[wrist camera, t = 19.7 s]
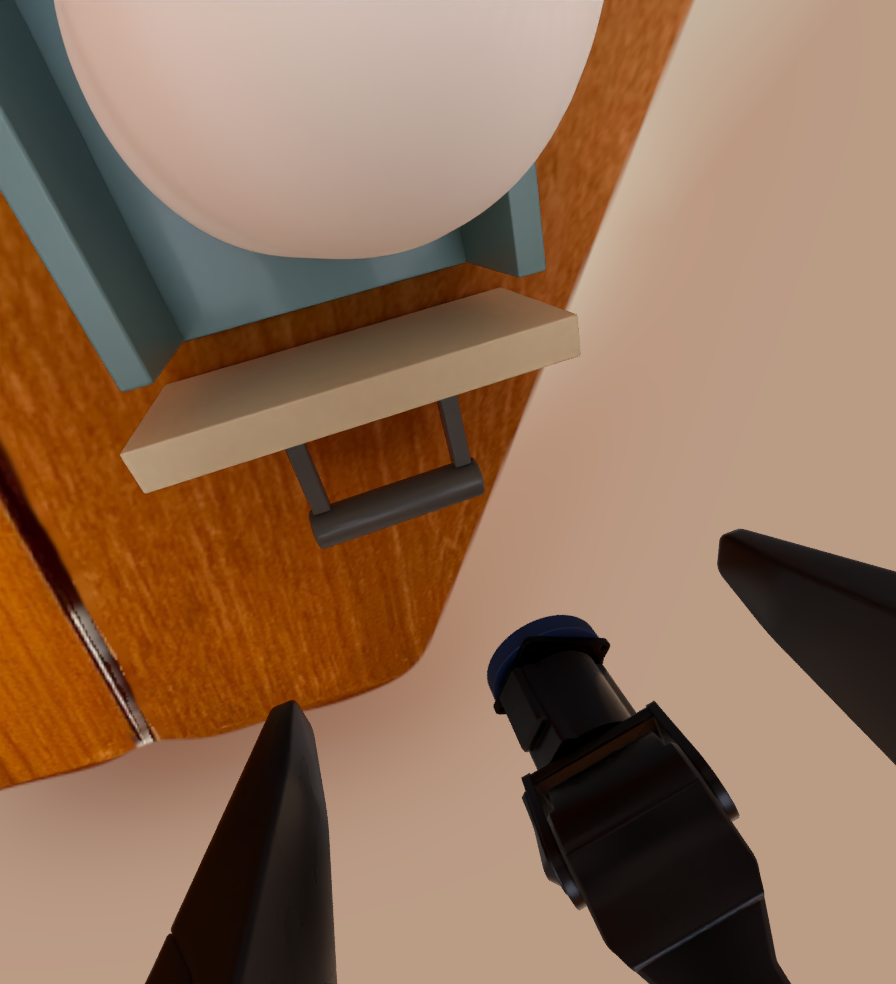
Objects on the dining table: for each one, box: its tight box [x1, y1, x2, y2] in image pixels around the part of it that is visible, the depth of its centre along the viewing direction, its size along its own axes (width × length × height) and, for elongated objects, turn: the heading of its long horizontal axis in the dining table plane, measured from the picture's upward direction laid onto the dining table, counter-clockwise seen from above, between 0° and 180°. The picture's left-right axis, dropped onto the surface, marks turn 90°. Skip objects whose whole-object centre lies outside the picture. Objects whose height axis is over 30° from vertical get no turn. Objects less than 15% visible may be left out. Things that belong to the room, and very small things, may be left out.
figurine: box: [54, 0, 604, 259], centre depth 9 cm, size 7×8×12 cm
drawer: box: [0, 0, 580, 549], centre depth 13 cm, size 20×12×6 cm, turn 12°
